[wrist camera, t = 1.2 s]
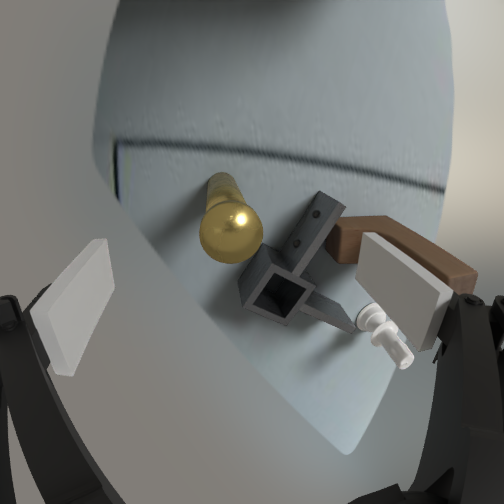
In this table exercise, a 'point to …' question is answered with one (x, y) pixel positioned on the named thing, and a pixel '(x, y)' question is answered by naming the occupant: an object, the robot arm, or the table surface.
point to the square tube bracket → (295, 271)
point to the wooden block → (409, 242)
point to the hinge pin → (229, 222)
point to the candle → (384, 334)
